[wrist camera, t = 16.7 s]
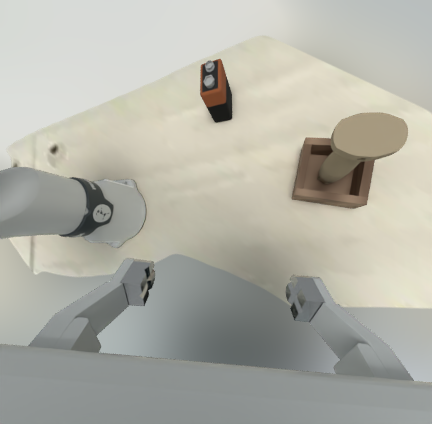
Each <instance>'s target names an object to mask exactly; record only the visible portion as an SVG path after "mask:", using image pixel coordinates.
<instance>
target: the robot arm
mask: <svg viewBox="0 0 432 424" xmlns="http://www.w3.org/2000/svg"><path fill="white" fill-rule="evenodd" d="M145 215H146V207H145V202H144V199H143V197H142V195H141V194H140V193H139V191H138V190H137V187H136V183H135V181H134V180H131V179H126V180H114V181H111V180H107V179H104V180H98V181H93V182H91V181H88V180H85V179H81V178H74V177H72V178H67V177H63V176H59V175H55V174H52V173H48V172H44V171H40V170H36V169H33V168H28V167H14V168H9V169H5V170H2V171H0V239H3V238H10V237H21V236H35V235H60V236H64V237H84V238H85V240H88V241H89V242H106V243H107V244H109V245H111V246H112V247H114V248H118V247H120V246H121V245H122V244H123V243H124V241H126V240H128V239H130V238H132V237H133V236H135V235H136V234H137V233H138V232H139V230H140V229H141V227H142V225H143V223H144V220H145ZM153 268H154V262H153V261H146V260H138V259H129V258H127V259H125V260H124V261H123V263H122V264H121V266H120V267H119V269H118V270H117V272H116V273H115V275H114V276H113V278H112V279H111V281H110V282H106V283H104V284H103V285H101V286H99V287H98V288H96V289H94V290H93V291H91V292H90V293H88V294H86V295H85V296H83V297H82V298H80V299H78V300H77V301H75V302H73V303H72V304H71V305H69V306H67V307H66V308H64V309H63V310H61V311H59V312H58V313H56V314H55V315H54V316H53V317H52V318H51V319H50V321H49V322H48V323H47V324H46V325H45V327H44V328H43V329H42V330H41V331H40V332H39V334H38V335H37V336H36V337H35V338H34V340H33V341H32V342H31V343H30V345H29V346H17V345H8V344H0V424H432V383H431V382H420V381H414V380H413V379H412V377H411V376H410V374H409V373H408V371H407V370H406V369H405V367H404V366H403V365H402V363H401V362H400V360H399V359H398V358H397V356H396V355H395V353H394V352H393V350H392V349H391V348H390V346H389V345H388V344H387V343H385V342H384V341H383V340H382V339H381V338H379V337H378V336H377V335H375V334H374V333H373V332H372V331H371V330H369V329H368V328H367V327H366V326H365V325H363V324H362V323H361V322H360V321H358V320H357V319H356V318H355V317H354V316H352V315H351V314H350V313H349V312H347V311H346V310H345V309H344V308H343V307H341V306H340V305H339V304H336V303H335V302H334V300H333V298H332V297H331V295H330V293H329V291H328V290H327V288H326V286H325V285H324V283H323V281H322V280H321V279H320V278H319V277H309V276H298V275H293V276H291V278H290V281H291V282H290V283H289V284H288V285H287V287H286V297H287V300H288V302H289V303H290V304H291V308H290V309H291V311H292V315H293V317H294V320H295V321H304V322H310V324H311V325H312V326H313V328H314V329H315V330H316V331H317V333H318V334H319V335H320V336H321V337H322V339H323V340H324V341H325V342H326V343H327V344H328V346H329V347H330V348H331V349H332V350H333V351H334V353H335V354H336V355H337V356H338V358H339V359H340V361H339V362H338V363H337V364H336V365H335V366H334V370H335V372H336V374H331V373H320V372H309V371H298V370H286V369H275V368H265V367H253V366H242V365H231V364H220V363H208V362H197V361H187V360H175V359H164V358H152V357H142V356H130V355H120V354H119V355H118V354H108V353H99V350H100V348H101V344H100V342H99V340H98V338H97V335H98V334H99V333H100V332H101V331H102V330H103V329H104V328H105V327H106V326H108V325H109V324H110V323H111V322H112V321H113V320H114V319H115V318H116V317H117V316H118V315H119V314H121V313H122V312H123V311H124V310H125V309H126V308H127V307H128V305H134V306H135V305H136V306H145V303H146V301H147V298H148V296H149V291H148V290H150V289H151V288H152V286H153V284H154V280H155V271H154V270H153Z"/></svg>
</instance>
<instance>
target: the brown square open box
mask: <svg viewBox="0 0 432 424" xmlns="http://www.w3.org/2000/svg"><path fill="white" fill-rule="evenodd" d="M332 152H333V150H332V148H331V139H329V138H305V141H304V144H303V147H302V150H301V155H300V161H299V166H298V171H297V176H296V181H295V186H294V191H293V196H292V199H294V200H301V201H307V202H314V203H321V204H327V205H334V206H340V207H347V208H357V207H361V206H364V205H367V200H368V194H369V189H370V183H371V178H372V172H373V166H374V161H375V160H371V161H364V162H360V163H359V164H358V165H357V166H356V167H355V168H354V169H353V170H352V171H351V172H350V173H349V174H347V175H346V176H345V177H343V178H342V179H340V180H338V181H335V182H332V183H329V184H324V183H323V182H322V181H320V180H318V176H319V170H320V167H321V165H322V164H323V162H324V161H325V159H326V158H327V157H328V156H329V155H330V154H331V153H332Z"/></svg>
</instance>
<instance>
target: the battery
mask: <svg viewBox="0 0 432 424" xmlns="http://www.w3.org/2000/svg"><path fill="white" fill-rule="evenodd" d="M200 95H201V97H202V99H203V101H204V103H205V105H206V106H207V108H208V110H209V112H210V114H211V116H212V118H213V120H214V121H215V122H220V121H225V120H230V119H231V118H232V94H231V90H230V87H229V83H228V80H227V77H226V74H225V70H224V67H223V64H222V61H221V59H218V60H215V61H208V62H206V63H205V64H202V65H201V85H200Z"/></svg>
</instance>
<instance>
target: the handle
mask: <svg viewBox="0 0 432 424" xmlns="http://www.w3.org/2000/svg"><path fill="white" fill-rule="evenodd" d="M407 136H408V128H407V125H406V123H405V121H404V120H403V119H400V118H398V117H395V116H392V115H390V114H386V113H360V114H356V115H353V116H350V117H348V118H345V119H342V120H341V121H340V122H339V123H338V124H337V126H336V127H335V129H334V131H333V133H332V136H331V148H332V150H333V152H332V153H331V154H330V155H329V156H328V157H327V158H326V159H325V161H324V162H323V164H322V165H321V167H320V170H319V176H318V180H320V181H322V182H323V183H324V184H329V183H332V182H335V181H338V180H340V179H342V178H343V177H345V176H346V175H347V174H349V173H350V172H351V171H352V170H353V169H354V168H355V167H356V166H357V165H358V164H359V163H360V162H364V161H371V160H376V159H380V158H383V157H386V156H389V155H392V154H394V153H395V152H397V151H399V150H400V149H401V148H402V147H403V145H404V144H405V142H406V140H407Z"/></svg>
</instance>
